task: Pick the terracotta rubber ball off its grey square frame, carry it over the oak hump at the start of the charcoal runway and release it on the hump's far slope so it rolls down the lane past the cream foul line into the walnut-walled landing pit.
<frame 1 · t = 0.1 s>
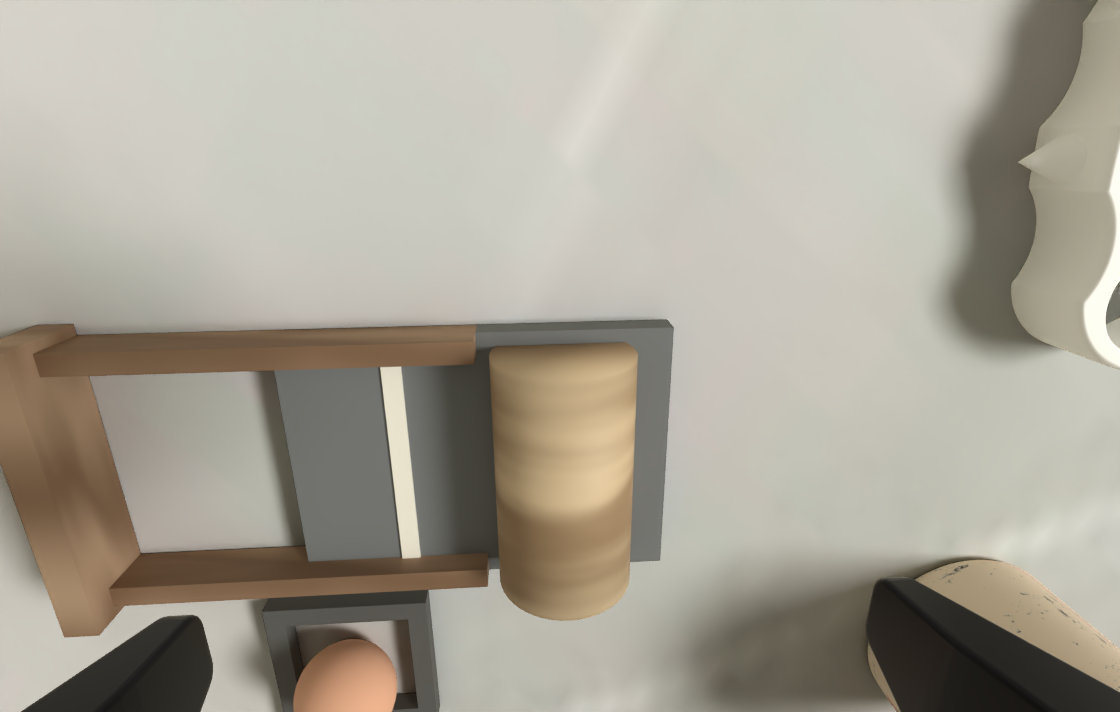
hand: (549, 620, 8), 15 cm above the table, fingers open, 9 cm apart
runway mat: (483, 447, 23), on the table
ball: (358, 653, 26), resting in grey square frame
grey square frame: (358, 653, 26), on the table
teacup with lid: (976, 629, 29), on the table
walnut lane: (287, 454, 23), on the table
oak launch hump: (560, 444, 23), resting on runway mat
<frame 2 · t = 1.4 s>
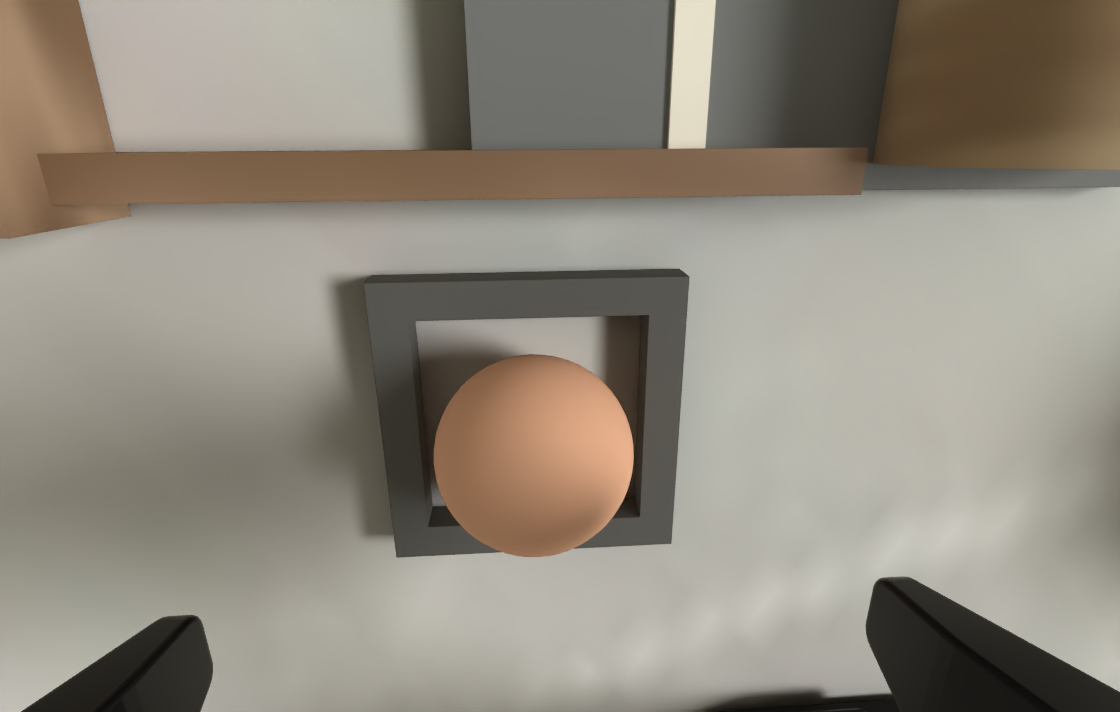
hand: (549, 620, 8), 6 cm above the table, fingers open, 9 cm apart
ball: (531, 411, 14), resting in grey square frame
grey square frame: (531, 411, 14), on the table
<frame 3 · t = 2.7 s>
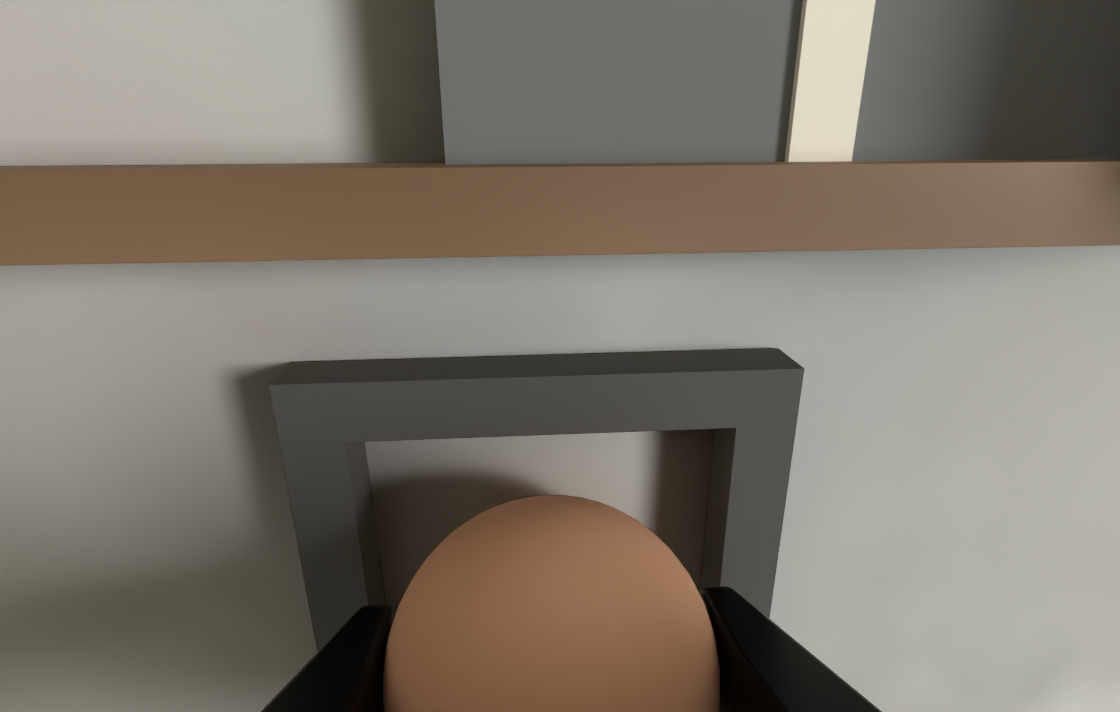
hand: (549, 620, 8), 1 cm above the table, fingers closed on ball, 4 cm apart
ball: (544, 556, 9), resting in grey square frame, touching gripper
grey square frame: (544, 556, 9), on the table
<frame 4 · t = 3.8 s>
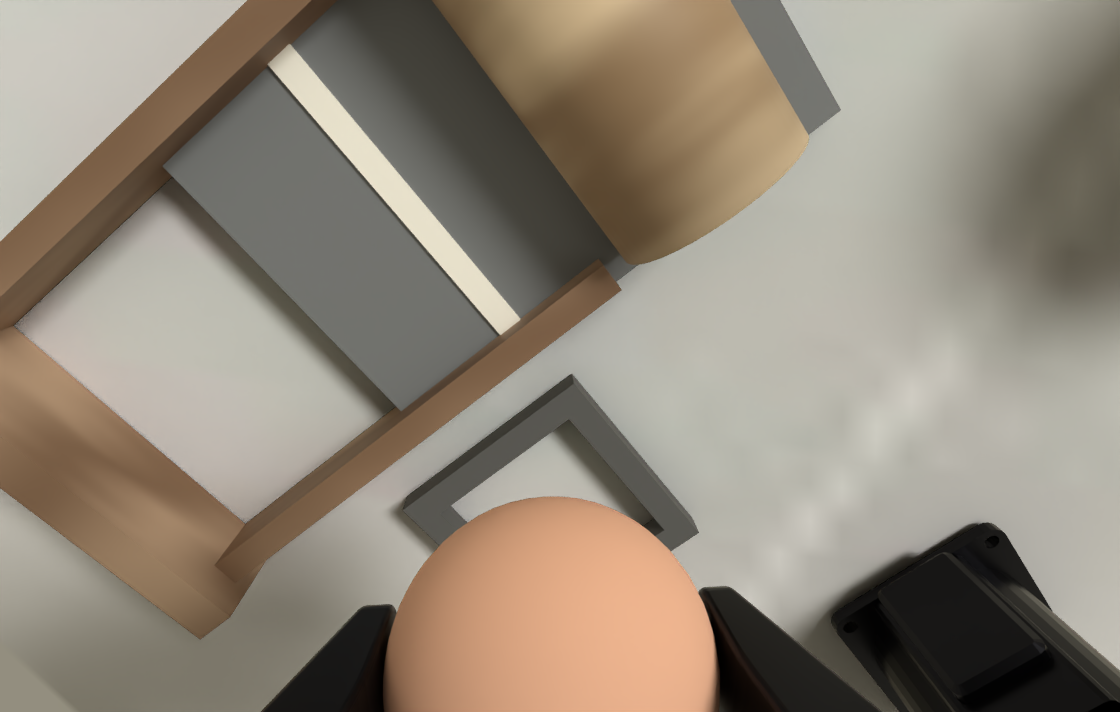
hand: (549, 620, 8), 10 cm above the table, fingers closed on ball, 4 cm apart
runway mat: (498, 125, 15), on the table
ball: (545, 557, 9), point 9 cm above the table, touching gripper
grey square frame: (553, 507, 19), on the table
walnut lane: (291, 300, 17), on the table
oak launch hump: (589, 47, 15), resting on runway mat
when the fingers open (6 cm above the table, at t = 4.9 s): ball drops 3 cm and tips over, point 2 cm above the table.
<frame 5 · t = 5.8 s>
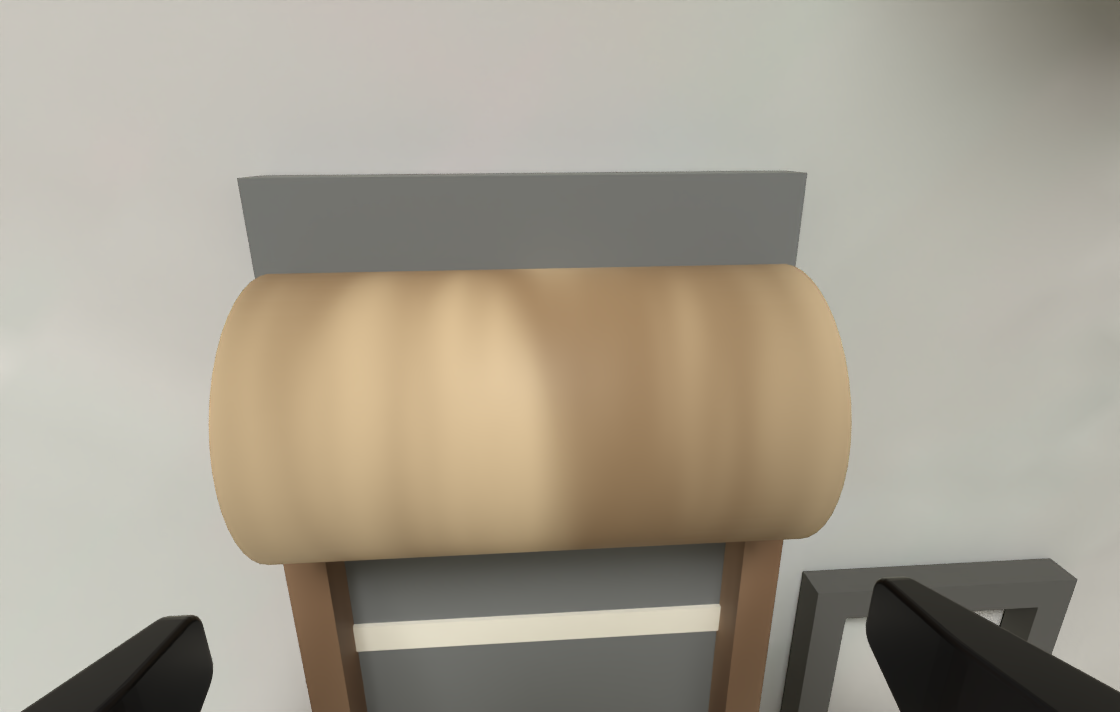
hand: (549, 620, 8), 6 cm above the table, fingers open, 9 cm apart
runway mat: (536, 490, 14), on the table
grey square frame: (904, 663, 16), on the table
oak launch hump: (533, 368, 13), resting on runway mat
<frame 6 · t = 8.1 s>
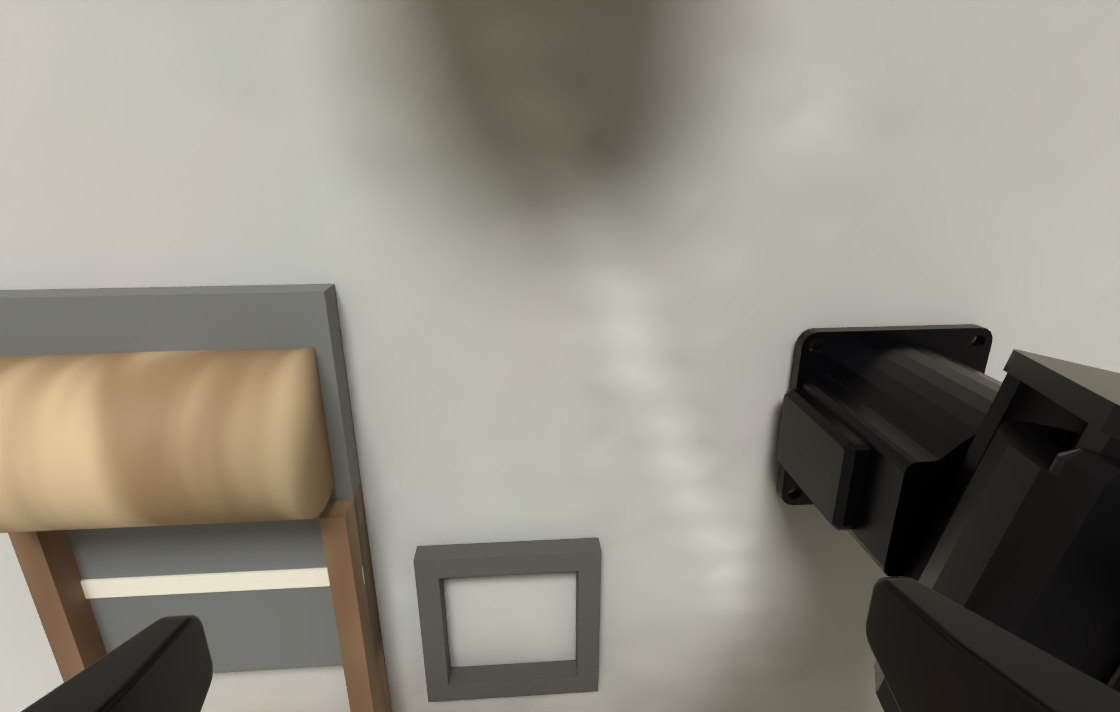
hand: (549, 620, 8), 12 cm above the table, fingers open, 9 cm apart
runway mat: (210, 489, 20), on the table
grey square frame: (511, 613, 23), on the table
walnut lane: (250, 659, 23), on the table
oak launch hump: (192, 408, 19), resting on runway mat
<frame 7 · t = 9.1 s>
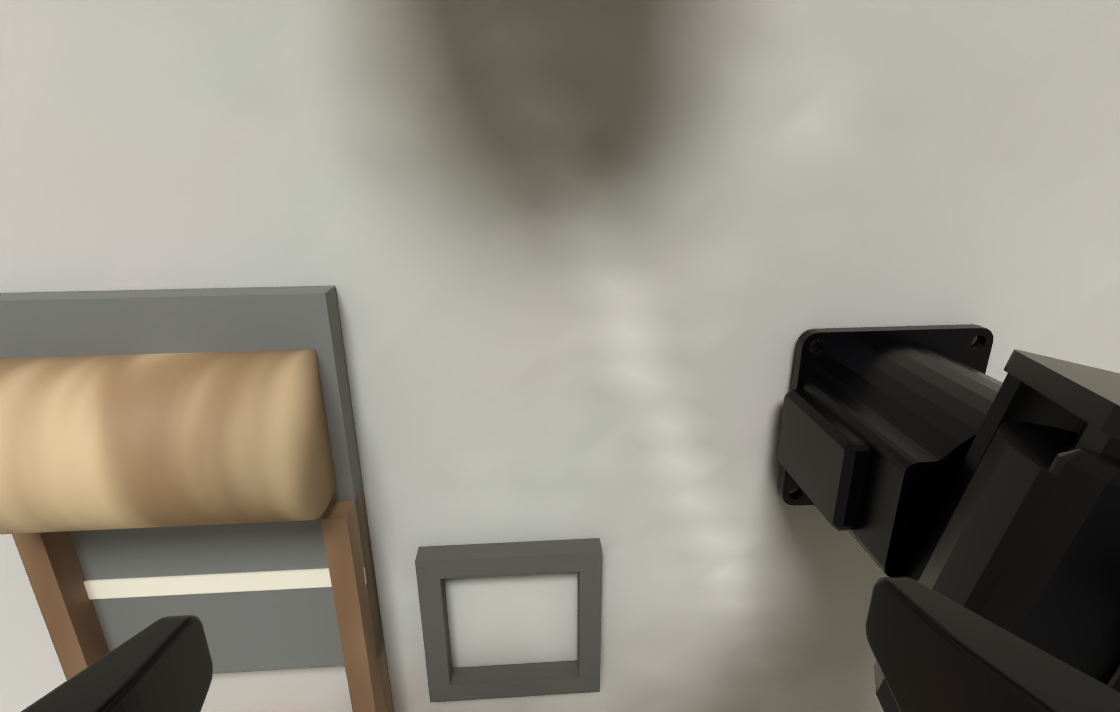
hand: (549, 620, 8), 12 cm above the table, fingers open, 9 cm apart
runway mat: (213, 490, 20), on the table
grey square frame: (512, 614, 23), on the table
walnut lane: (252, 660, 23), on the table
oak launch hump: (194, 410, 19), resting on runway mat
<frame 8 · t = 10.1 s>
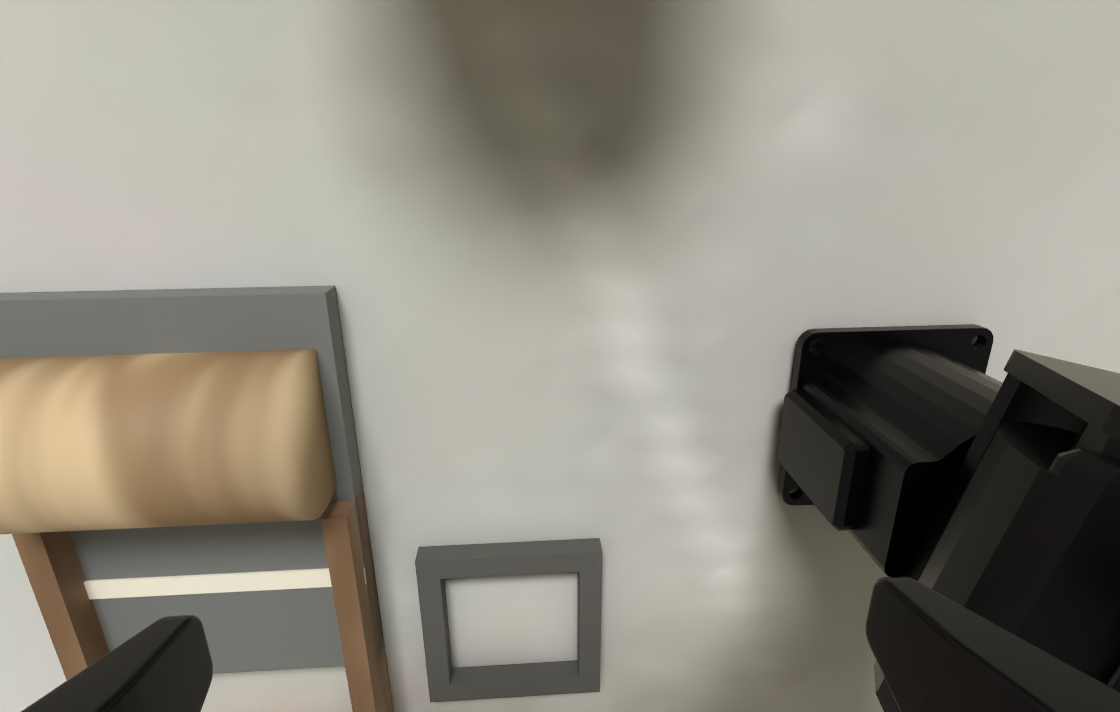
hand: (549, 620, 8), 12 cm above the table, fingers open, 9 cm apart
runway mat: (213, 490, 20), on the table
grey square frame: (512, 614, 23), on the table
walnut lane: (252, 660, 23), on the table
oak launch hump: (194, 410, 19), resting on runway mat
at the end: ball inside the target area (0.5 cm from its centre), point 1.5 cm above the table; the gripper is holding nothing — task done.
